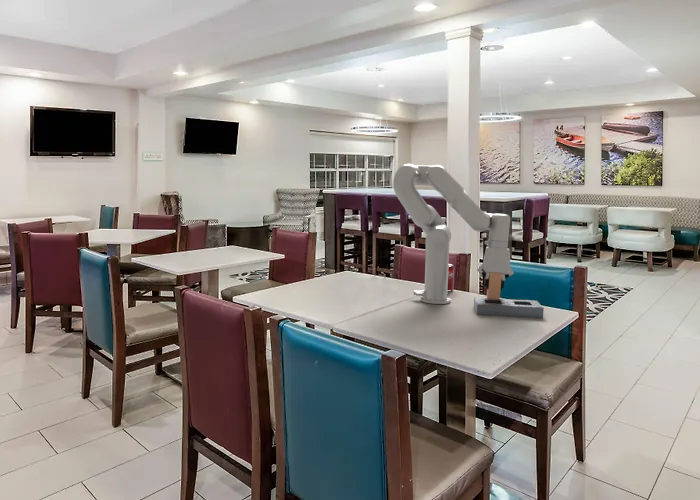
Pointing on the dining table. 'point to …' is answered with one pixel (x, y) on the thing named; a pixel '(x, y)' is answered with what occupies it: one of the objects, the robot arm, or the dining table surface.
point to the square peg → (494, 285)
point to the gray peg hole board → (508, 307)
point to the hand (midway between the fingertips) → (493, 288)
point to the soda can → (450, 277)
